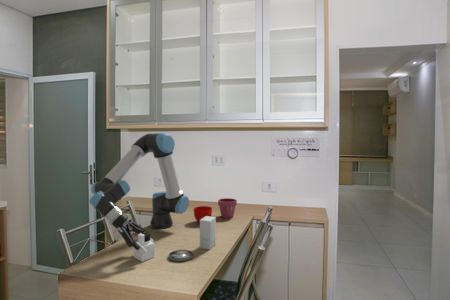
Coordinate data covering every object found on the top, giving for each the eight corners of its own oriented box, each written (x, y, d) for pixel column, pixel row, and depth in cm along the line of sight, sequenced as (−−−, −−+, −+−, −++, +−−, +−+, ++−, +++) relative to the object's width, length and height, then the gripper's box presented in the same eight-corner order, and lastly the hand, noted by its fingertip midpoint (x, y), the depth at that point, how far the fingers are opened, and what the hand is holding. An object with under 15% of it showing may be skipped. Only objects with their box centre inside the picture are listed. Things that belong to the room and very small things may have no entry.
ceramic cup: (201, 227, 181) (201, 212, 181) (190, 221, 195) (190, 207, 195) (218, 224, 188) (218, 210, 188) (206, 218, 203) (206, 205, 202)
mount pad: (170, 252, 141) (170, 249, 140) (194, 251, 141) (194, 249, 141) (166, 262, 129) (166, 259, 129) (192, 261, 129) (192, 259, 129)
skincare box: (205, 243, 153) (205, 215, 153) (216, 244, 151) (216, 216, 150) (199, 248, 145) (199, 219, 145) (210, 250, 143) (210, 220, 143)
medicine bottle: (146, 253, 139) (146, 230, 139) (154, 257, 135) (154, 233, 134) (133, 257, 134) (133, 233, 133) (142, 261, 129) (142, 236, 129)
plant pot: (232, 213, 218) (232, 197, 217) (239, 217, 205) (239, 200, 204) (215, 215, 212) (215, 198, 212) (222, 219, 199) (222, 202, 199)
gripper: (120, 216, 146) (149, 243, 146) (100, 231, 121) (135, 264, 122) (130, 206, 146) (159, 233, 146) (112, 219, 121) (147, 252, 122)
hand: (148, 247), depth 134 cm, fingers open, 13 cm apart
